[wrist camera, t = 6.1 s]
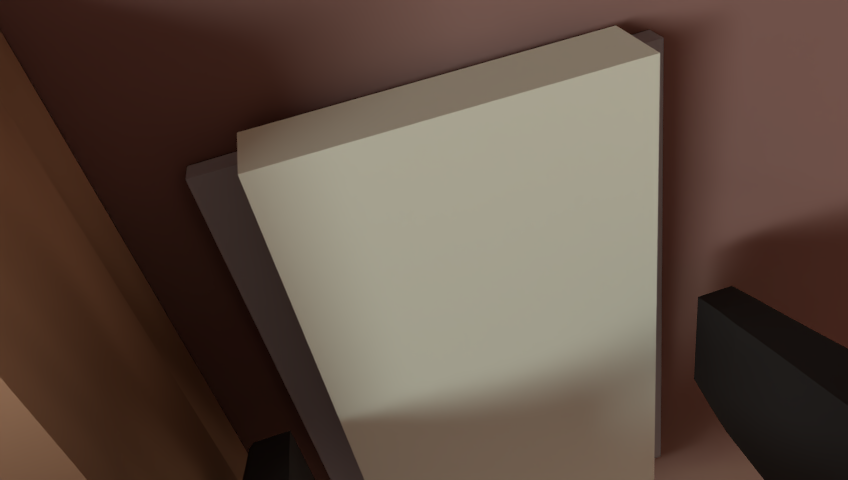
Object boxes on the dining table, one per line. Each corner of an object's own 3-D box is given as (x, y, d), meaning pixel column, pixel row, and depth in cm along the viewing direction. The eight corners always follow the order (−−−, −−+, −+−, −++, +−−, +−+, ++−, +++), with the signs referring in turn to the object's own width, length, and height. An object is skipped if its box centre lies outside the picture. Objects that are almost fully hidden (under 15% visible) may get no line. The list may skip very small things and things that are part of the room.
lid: (627, 473, 16) (653, 519, 15) (403, 549, 15) (414, 601, 14) (615, 25, 9) (660, 53, 8) (237, 133, 9) (237, 174, 8)
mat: (652, 442, 16) (660, 456, 16) (365, 541, 15) (368, 557, 15) (649, 29, 10) (663, 38, 10) (186, 166, 10) (184, 179, 9)
